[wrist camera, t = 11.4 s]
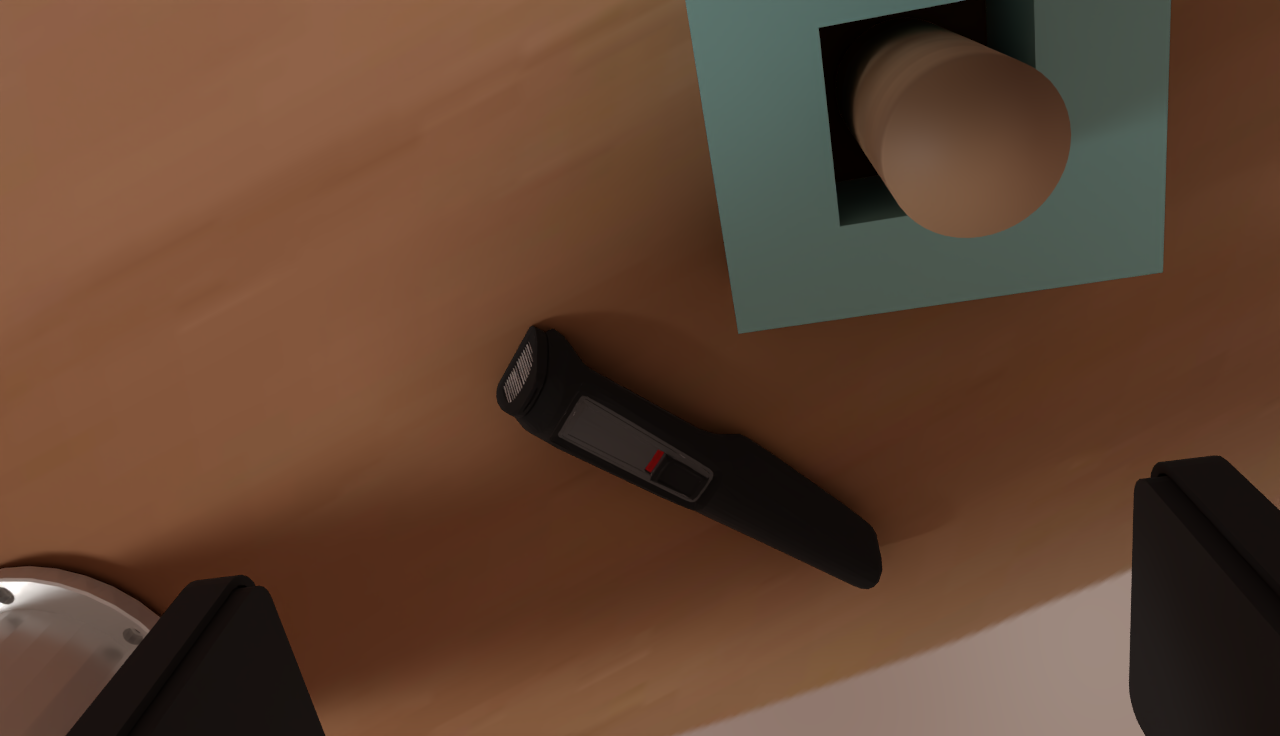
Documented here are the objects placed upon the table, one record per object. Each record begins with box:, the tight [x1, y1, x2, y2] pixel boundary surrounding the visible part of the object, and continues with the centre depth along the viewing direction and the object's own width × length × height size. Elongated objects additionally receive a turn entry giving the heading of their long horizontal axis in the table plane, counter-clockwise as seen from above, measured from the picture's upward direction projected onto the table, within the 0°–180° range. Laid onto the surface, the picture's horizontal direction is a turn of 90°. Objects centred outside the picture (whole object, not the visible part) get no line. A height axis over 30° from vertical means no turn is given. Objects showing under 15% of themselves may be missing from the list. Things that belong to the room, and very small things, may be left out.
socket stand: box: [685, 0, 1171, 334], centre depth 18 cm, size 16×13×26 cm
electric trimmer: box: [496, 326, 882, 589], centre depth 35 cm, size 4×16×3 cm, turn 60°
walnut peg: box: [835, 17, 1071, 238], centre depth 26 cm, size 4×4×10 cm
